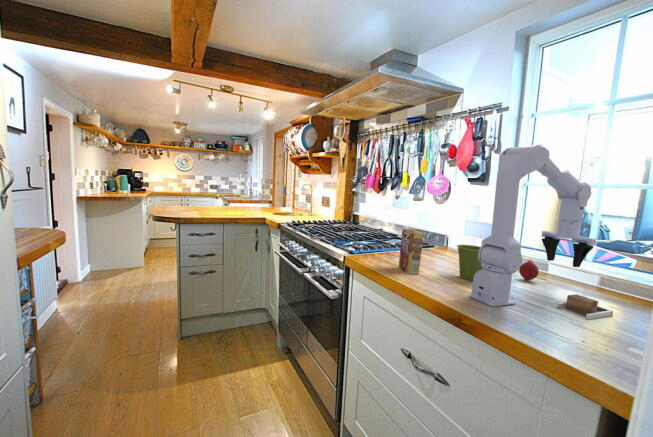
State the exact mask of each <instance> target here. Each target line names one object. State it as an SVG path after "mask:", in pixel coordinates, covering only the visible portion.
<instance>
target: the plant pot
mask: <svg viewBox="0 0 653 437" xmlns="http://www.w3.org/2000/svg"><path fill="white" fill-rule="evenodd" d="M456 248H457V253H458V261H459V262H458V264H459V265H458V266H459V278H461V279H464V280H466V281H471V282H473V278H474V275H475V273H476V272H478V271H481V270H482V269H483V267H482V266H481V264H482V263H481V262H480V261H479V258H478V253H479V250H480V248H481V246H478V245H473V244H472V245H471V244H456Z"/></svg>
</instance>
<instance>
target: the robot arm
mask: <svg viewBox="0 0 653 437" xmlns="http://www.w3.org/2000/svg"><path fill="white" fill-rule="evenodd" d="M536 171H537V172H538V173H540V174H541V175H543V176H545V178H547V179H546V182H547V184H548V185H549V186H550V187H551V188H553V189H554V190H555V191H556V194H557V198H558V199H559V200H560V206H559V211H558V218H557V225H556V231H547V230H541V237H542V238H541V242H542V244H543V246H544V250H545V252H546V259H547V261H549V262H551V261H555V259H556V252H557V248H558V246H559V243H560V241H565V242H571V243H573V244H572V246H573V247H572V248H573V260H572V267H573V268H580V267H581V265H582V263H583V261H584V259H585V258H586V257H587V255H588V254H589V253H590V251H592V250H593V249H594V247H595V246H596V244H597V239H596V238H591V237H585V236H581V228H582V223H583V217H584V209H585V208H586V207H587V206H588V201H589V200H590V198H591V196H592V187H591V186H590V184H588V183H587V182H582V181H580V180H579V179H578V178H576V177H575V176H574V175H573V174H572V173H571V172H570V170H569V169H568V168H566V169H565V168H559V167H558V166H557V165H556V164H555V163H554V161H553V160H552V159H551V158H550V150H549V149H547V147H546V146H545V145H543V144H541V143H540V144H535V145H529V146H528V145H525V146H517V147H507V148H505V149H504V150H503V151H502V152H501V153H499V157H498V166H497V173H496V182H495V183H496V184H495V193H494V202H493V204H494V206H493V214H492V222H491V223H492V224H491V233H490V235H488V236H487V237H485V238H483V239H482V240H481V246H480V247H481V248H480V250H479V253H478V258H479V261H480V262H481V263H482V264H481V266H482V267H483V269H482V270H481V271H478V272H476V273H475V275H474V278H473V281H472V286H471V293H469V294H468V297H470V298H472V299H475V300H477V301H480V302H481V303H483V304H486V305H488V306H490V307H499V306H507V305H515V304H517V303H516V302H517V301H514V300H513V299H510V294H511V293H510V292H511V287H512V278H513V274H516V272H517V271H519V269H520V267H521V265H522V264H523V256H522V252H521V251H522V245H521V244H520V243H519V241H518V240H517V239H516V238H515V237H514V236H515V226H516V220H517V219H516V217H517V208H518V200H519V198H518V197H519V188H520V183H521V182H520V181H521V180H522V179H523V178H524V177H525V176H526V175H529V174H531V173H534V172H536Z"/></svg>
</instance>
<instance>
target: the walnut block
mask: <svg viewBox="0 0 653 437" xmlns="http://www.w3.org/2000/svg"><path fill="white" fill-rule="evenodd" d="M566 297H567V298H566V301H565V302H566V307H564V308H565V310H567V311H570V312H573V313H576V314H579V315H582V316H585V317H586V314H590V313H596V311H597V306H598V305H599V300H595V299H592V298H589V297H586V296H583V295H580V294H577V293H576V294H575V293H574V294H569V295H567V296H566Z"/></svg>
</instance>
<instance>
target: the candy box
mask: <svg viewBox="0 0 653 437" xmlns="http://www.w3.org/2000/svg"><path fill="white" fill-rule="evenodd" d="M424 234H425V233H424V232H422V231H418V230H415V229H412V228H402V231H401V239H400V249H399V257H398V265H397V267H398V269H399V270H401V271H404V272H405V273H407V274H409V275H419V274H420V267H421V261H422V260H421V259H422V251H423V241H424Z"/></svg>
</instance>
